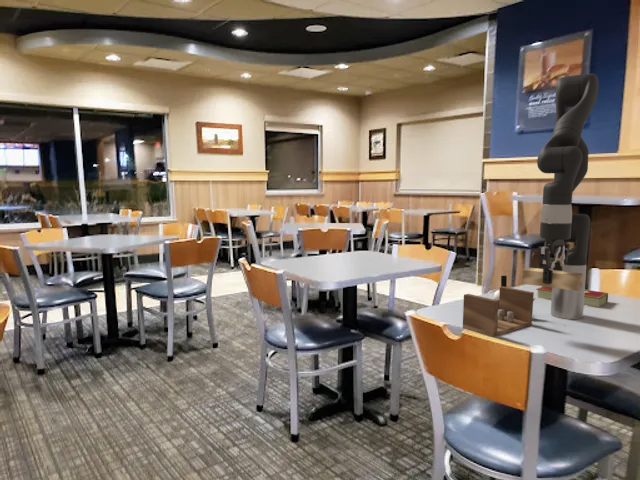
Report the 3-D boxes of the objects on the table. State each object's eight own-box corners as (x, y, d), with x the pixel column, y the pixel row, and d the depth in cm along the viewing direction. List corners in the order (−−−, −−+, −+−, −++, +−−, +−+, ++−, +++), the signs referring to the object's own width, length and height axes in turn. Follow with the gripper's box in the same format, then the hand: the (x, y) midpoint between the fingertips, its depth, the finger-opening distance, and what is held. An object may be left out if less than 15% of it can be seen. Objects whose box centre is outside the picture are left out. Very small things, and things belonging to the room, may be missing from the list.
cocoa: (499, 307, 157) (496, 273, 157) (517, 308, 153) (515, 273, 153) (490, 311, 149) (487, 275, 149) (509, 312, 145) (506, 275, 146)
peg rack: (501, 317, 143) (503, 286, 142) (531, 324, 135) (533, 292, 134) (462, 327, 132) (463, 294, 130) (492, 336, 123) (494, 301, 122)
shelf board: (522, 283, 126) (522, 269, 125) (527, 280, 129) (527, 267, 129) (578, 290, 117) (579, 275, 116) (581, 287, 121) (582, 273, 120)
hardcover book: (546, 293, 178) (547, 283, 178) (607, 303, 163) (608, 291, 163) (535, 298, 170) (536, 288, 169) (599, 309, 155) (599, 297, 154)
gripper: (553, 219, 128) (550, 276, 130) (529, 221, 119) (526, 283, 121) (581, 220, 123) (577, 281, 124) (558, 223, 114) (554, 288, 116)
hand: (552, 281), depth 123 cm, fingers closed on shelf board, 5 cm apart
